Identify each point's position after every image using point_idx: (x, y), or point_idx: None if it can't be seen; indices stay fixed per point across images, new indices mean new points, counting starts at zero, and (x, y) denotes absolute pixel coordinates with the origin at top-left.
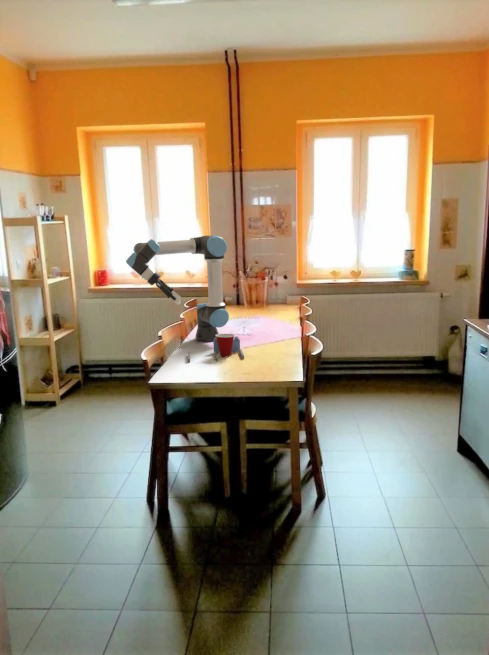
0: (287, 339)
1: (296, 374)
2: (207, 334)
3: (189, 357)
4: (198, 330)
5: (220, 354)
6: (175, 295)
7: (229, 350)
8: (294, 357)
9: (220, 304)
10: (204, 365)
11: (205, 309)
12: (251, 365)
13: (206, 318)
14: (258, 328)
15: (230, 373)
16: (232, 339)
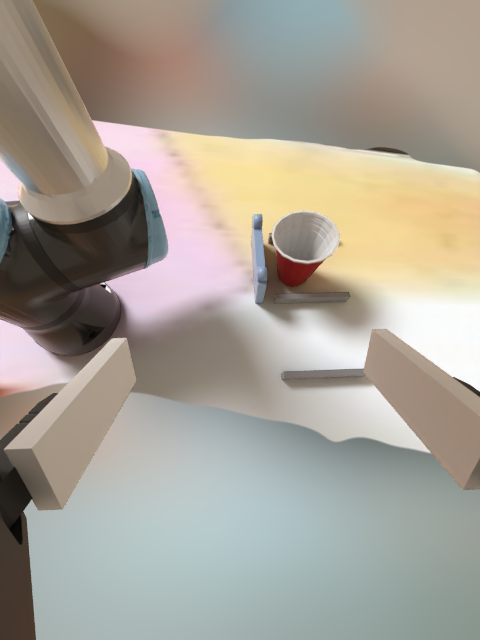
0: (168, 145)
1: (441, 167)
2: (104, 306)
3: (349, 370)
4: (66, 332)
5: (297, 285)
6: (99, 405)
7: (309, 256)
8: (323, 154)
9: (118, 157)
10: (389, 330)
11: (44, 248)
12: (384, 228)
13: (111, 270)
14: (17, 182)
15: (452, 273)
16: (314, 226)
